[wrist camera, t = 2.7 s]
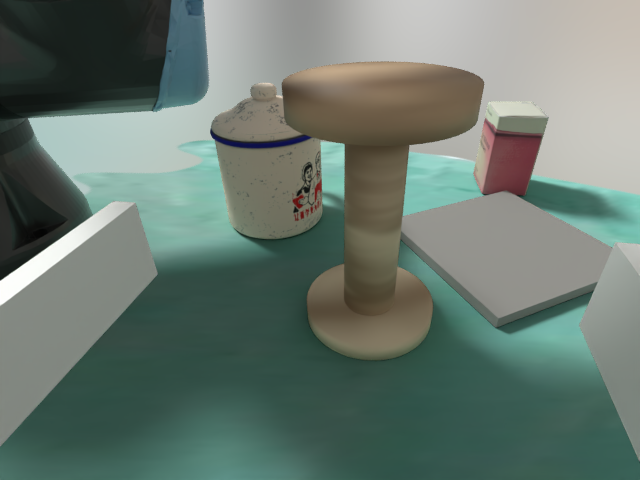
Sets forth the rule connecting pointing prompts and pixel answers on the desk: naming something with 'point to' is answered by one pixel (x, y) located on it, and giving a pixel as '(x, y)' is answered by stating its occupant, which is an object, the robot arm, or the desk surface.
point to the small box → (509, 146)
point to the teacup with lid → (267, 168)
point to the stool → (376, 191)
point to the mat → (506, 254)
